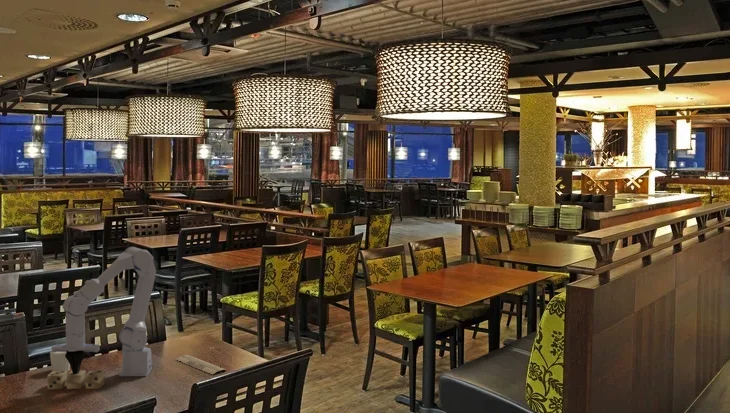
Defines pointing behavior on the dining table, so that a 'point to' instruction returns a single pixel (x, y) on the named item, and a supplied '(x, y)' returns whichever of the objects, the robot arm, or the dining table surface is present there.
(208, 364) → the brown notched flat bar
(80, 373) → the plain block
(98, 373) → the dotted block two
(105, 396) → the dining table surface
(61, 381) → the dotted block three
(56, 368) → the cream short cylinder
